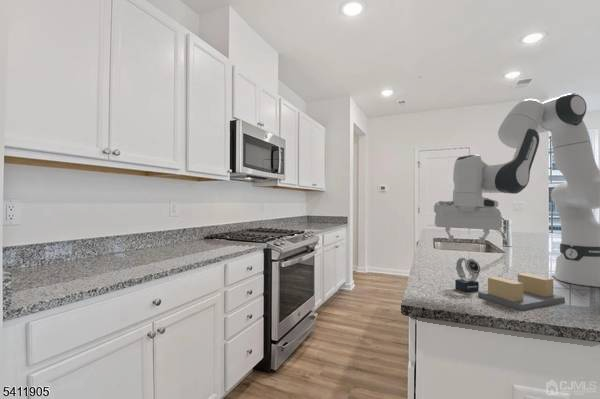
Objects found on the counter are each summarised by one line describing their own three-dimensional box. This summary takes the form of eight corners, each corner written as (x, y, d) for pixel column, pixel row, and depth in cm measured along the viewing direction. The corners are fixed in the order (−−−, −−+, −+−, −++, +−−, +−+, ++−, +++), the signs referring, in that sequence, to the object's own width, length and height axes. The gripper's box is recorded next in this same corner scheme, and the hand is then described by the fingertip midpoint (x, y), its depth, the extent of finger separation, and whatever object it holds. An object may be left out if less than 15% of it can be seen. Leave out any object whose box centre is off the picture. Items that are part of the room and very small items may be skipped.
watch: (469, 293, 98) (469, 260, 98) (451, 287, 106) (451, 256, 106) (483, 292, 99) (483, 259, 99) (464, 286, 107) (464, 255, 107)
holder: (519, 290, 102) (519, 271, 102) (564, 302, 90) (564, 280, 90) (478, 296, 95) (478, 276, 95) (520, 310, 83) (521, 286, 83)
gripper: (434, 200, 104) (433, 240, 104) (504, 202, 96) (503, 245, 96) (433, 201, 109) (432, 238, 109) (498, 202, 102) (498, 242, 102)
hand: (466, 241), depth 103 cm, fingers open, 8 cm apart
